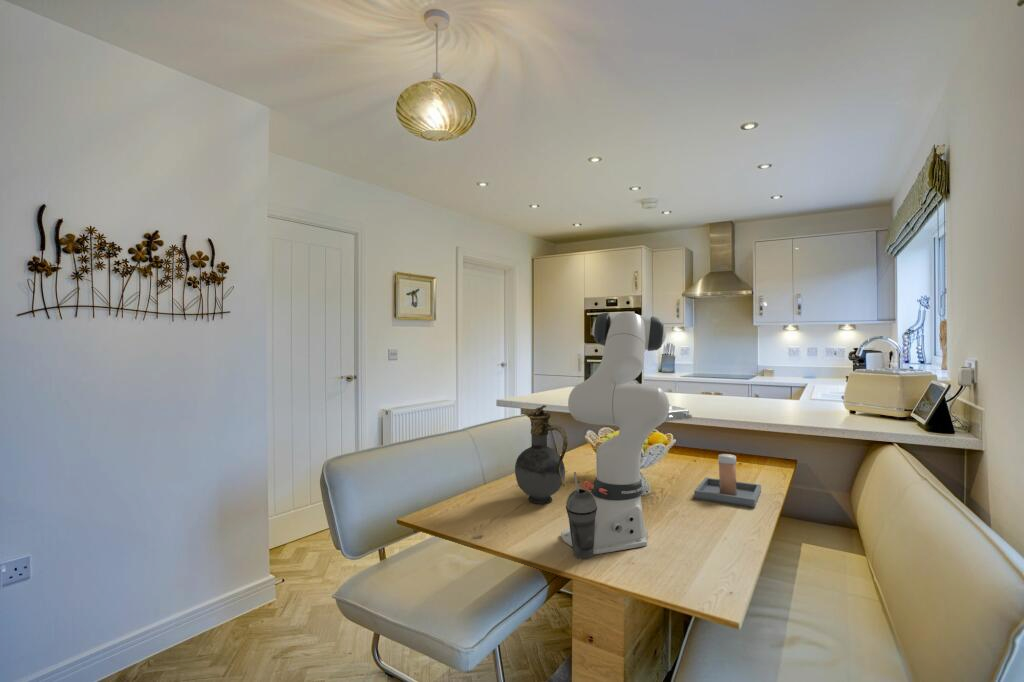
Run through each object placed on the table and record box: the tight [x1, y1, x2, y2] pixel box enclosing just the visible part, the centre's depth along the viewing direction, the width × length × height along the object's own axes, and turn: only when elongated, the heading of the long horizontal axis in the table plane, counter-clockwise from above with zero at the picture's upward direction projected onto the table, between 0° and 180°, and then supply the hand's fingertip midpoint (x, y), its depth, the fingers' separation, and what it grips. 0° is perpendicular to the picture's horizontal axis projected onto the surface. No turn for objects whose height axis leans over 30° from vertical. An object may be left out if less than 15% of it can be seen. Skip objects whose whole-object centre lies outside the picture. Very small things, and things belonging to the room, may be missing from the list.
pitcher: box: [514, 404, 569, 505], centre depth 152 cm, size 11×19×30 cm, turn 43°
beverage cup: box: [565, 471, 597, 560], centre depth 113 cm, size 7×7×20 cm
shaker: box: [717, 453, 737, 496], centre depth 156 cm, size 5×5×12 cm
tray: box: [693, 477, 762, 509], centre depth 156 cm, size 17×17×2 cm
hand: (680, 417), depth 166 cm, fingers open, 8 cm apart
